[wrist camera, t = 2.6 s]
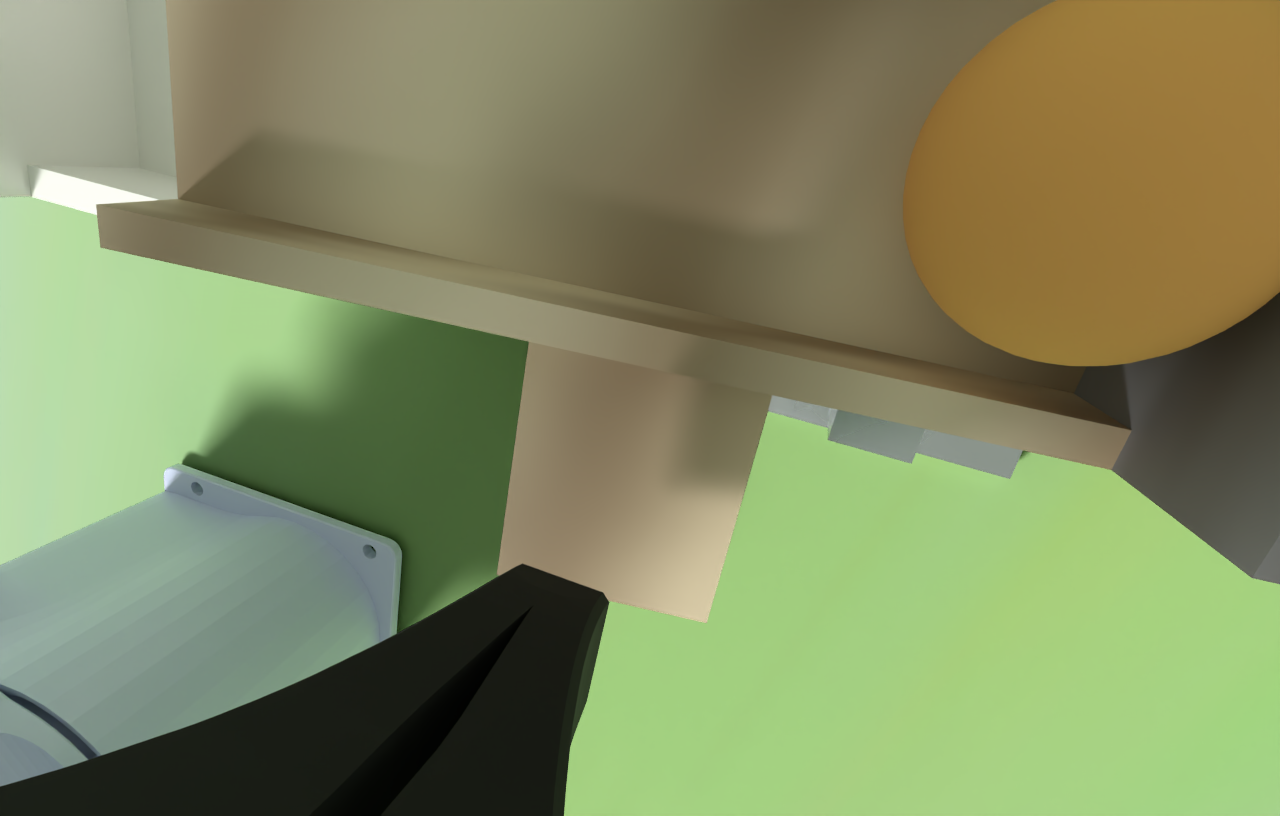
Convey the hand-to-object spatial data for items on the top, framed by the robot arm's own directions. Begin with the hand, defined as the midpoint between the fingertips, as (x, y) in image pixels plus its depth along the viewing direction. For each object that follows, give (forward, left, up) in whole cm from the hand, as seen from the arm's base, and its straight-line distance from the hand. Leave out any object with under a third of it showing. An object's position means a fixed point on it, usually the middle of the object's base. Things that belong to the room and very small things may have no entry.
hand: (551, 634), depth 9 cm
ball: (+5, +7, -2) cm, 9 cm away
